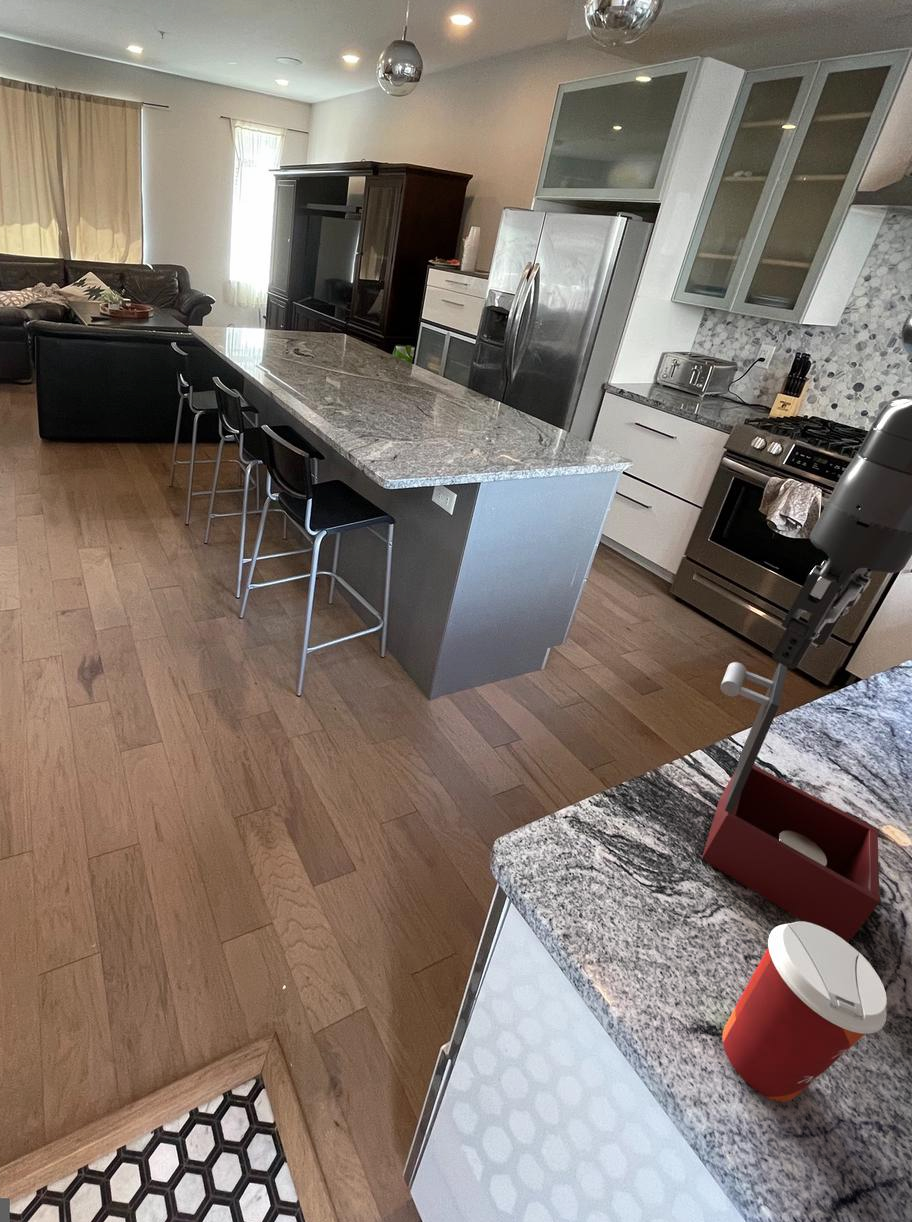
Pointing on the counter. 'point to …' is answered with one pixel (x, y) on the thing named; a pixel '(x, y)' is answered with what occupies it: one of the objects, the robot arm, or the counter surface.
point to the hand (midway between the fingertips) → (798, 651)
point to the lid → (761, 724)
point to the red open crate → (797, 853)
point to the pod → (803, 846)
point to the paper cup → (802, 1010)
